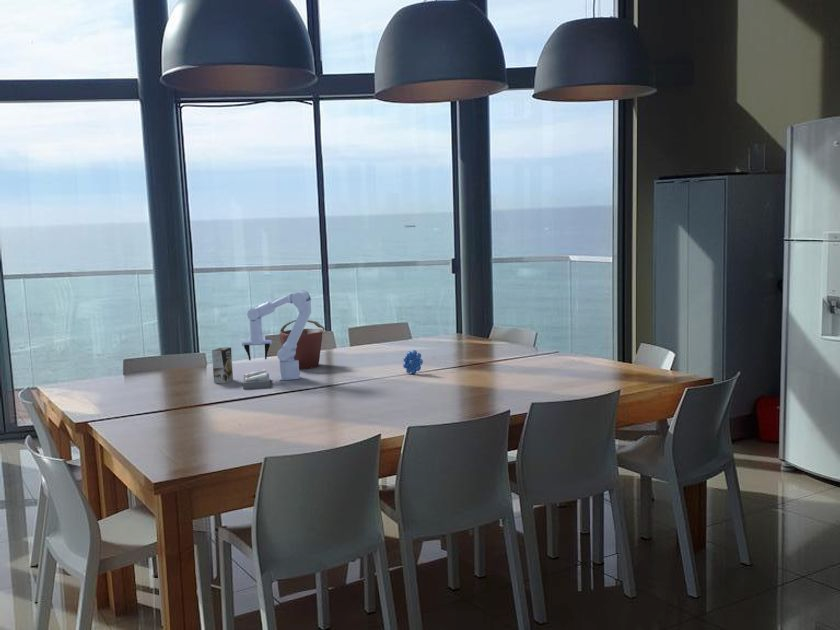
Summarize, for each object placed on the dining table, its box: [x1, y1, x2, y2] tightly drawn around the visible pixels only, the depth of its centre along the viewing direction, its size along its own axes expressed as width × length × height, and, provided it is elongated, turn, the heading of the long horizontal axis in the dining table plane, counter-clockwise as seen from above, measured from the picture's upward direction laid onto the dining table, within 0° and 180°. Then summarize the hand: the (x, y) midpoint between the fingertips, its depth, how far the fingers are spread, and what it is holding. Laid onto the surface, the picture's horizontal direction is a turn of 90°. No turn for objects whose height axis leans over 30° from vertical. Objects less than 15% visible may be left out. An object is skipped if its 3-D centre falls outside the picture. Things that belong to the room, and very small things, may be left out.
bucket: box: [279, 319, 325, 370], centre depth 439 cm, size 24×22×25 cm
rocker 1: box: [245, 368, 267, 377], centre depth 402 cm, size 10×3×1 cm, turn 100°
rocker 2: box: [245, 372, 267, 381], centre depth 391 cm, size 10×3×1 cm, turn 100°
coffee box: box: [211, 347, 234, 384], centre depth 407 cm, size 9×6×16 cm
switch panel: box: [242, 372, 271, 390], centre depth 397 cm, size 12×20×3 cm, turn 11°
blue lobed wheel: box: [402, 349, 424, 375], centre depth 408 cm, size 12×7×12 cm, turn 55°
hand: (257, 359), depth 410 cm, fingers open, 7 cm apart
